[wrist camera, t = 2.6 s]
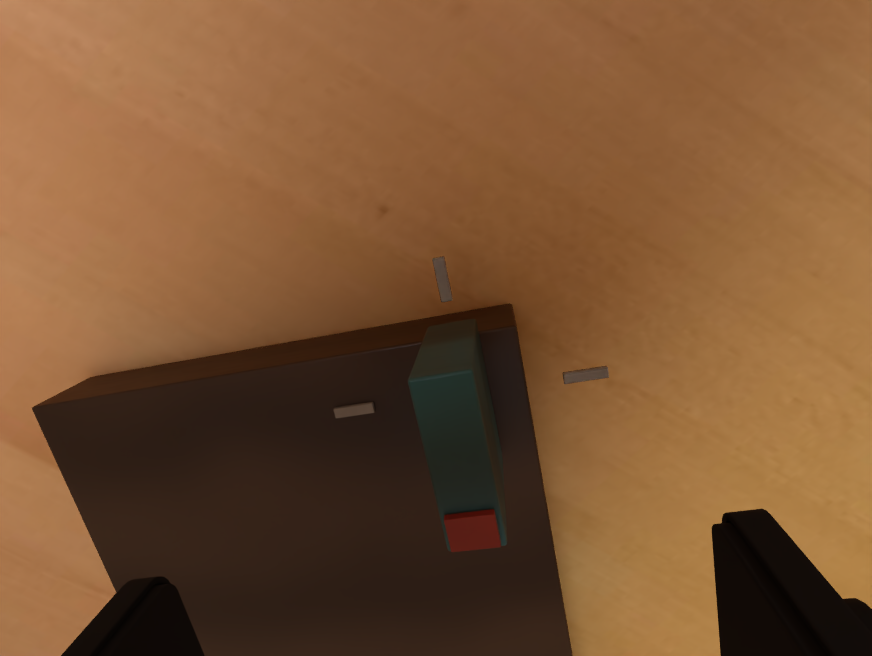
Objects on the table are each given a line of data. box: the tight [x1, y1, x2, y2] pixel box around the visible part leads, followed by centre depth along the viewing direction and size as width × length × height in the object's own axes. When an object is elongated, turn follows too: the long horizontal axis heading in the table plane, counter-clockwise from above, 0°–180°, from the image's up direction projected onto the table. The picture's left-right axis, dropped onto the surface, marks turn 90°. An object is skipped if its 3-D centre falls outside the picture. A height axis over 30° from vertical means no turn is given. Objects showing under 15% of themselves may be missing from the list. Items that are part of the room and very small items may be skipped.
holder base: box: [32, 256, 609, 656], centre depth 21 cm, size 21×21×3 cm
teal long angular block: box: [408, 319, 507, 552], centre depth 15 cm, size 5×2×5 cm, turn 12°
